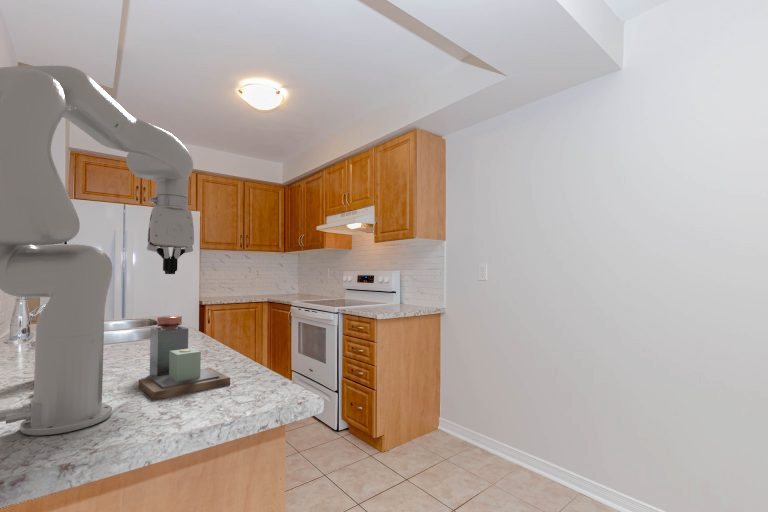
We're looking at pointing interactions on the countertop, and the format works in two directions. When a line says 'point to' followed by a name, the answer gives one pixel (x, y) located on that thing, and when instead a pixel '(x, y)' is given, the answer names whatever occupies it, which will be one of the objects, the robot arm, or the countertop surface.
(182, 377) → the block
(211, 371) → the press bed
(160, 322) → the push button
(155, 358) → the column
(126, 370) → the countertop surface
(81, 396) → the robot arm
